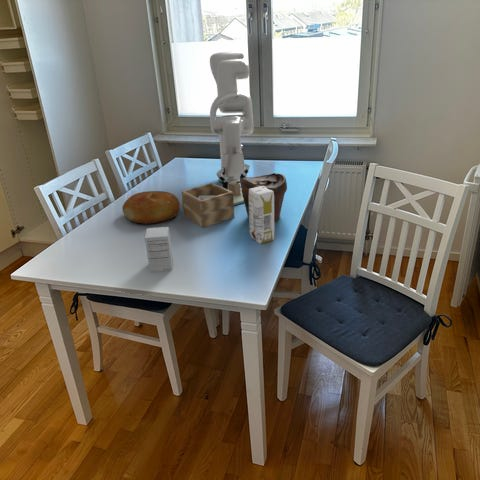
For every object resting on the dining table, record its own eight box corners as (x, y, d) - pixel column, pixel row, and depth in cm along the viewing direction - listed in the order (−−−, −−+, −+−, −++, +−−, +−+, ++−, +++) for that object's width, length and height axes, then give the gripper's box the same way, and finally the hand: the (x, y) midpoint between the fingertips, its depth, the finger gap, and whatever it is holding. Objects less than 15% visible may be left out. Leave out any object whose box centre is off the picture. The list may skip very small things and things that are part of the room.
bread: (150, 202, 200) (147, 181, 196) (191, 210, 189) (189, 188, 184) (113, 220, 183) (109, 198, 178) (156, 231, 172) (153, 207, 167)
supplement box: (151, 261, 150) (146, 227, 144) (173, 259, 151) (169, 226, 145) (149, 272, 144) (144, 237, 138) (172, 270, 144) (167, 236, 138)
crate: (214, 206, 191) (212, 182, 186) (234, 217, 180) (233, 192, 175) (184, 216, 184) (181, 191, 179) (203, 227, 173) (200, 201, 168)
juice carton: (258, 245, 157) (257, 195, 149) (247, 236, 164) (245, 188, 156) (277, 240, 160) (276, 191, 152) (265, 231, 167) (264, 184, 159)
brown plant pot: (293, 210, 184) (293, 169, 176) (277, 230, 168) (276, 185, 160) (254, 205, 191) (252, 165, 183) (234, 224, 175) (231, 181, 167)
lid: (238, 187, 211) (238, 175, 209) (261, 196, 199) (260, 184, 196) (208, 195, 203) (208, 183, 200) (230, 206, 190) (229, 193, 187)
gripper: (243, 144, 198) (244, 180, 206) (210, 151, 189) (213, 189, 197) (253, 147, 193) (254, 184, 200) (220, 155, 184) (223, 193, 192)
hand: (234, 187), depth 199 cm, fingers open, 9 cm apart
